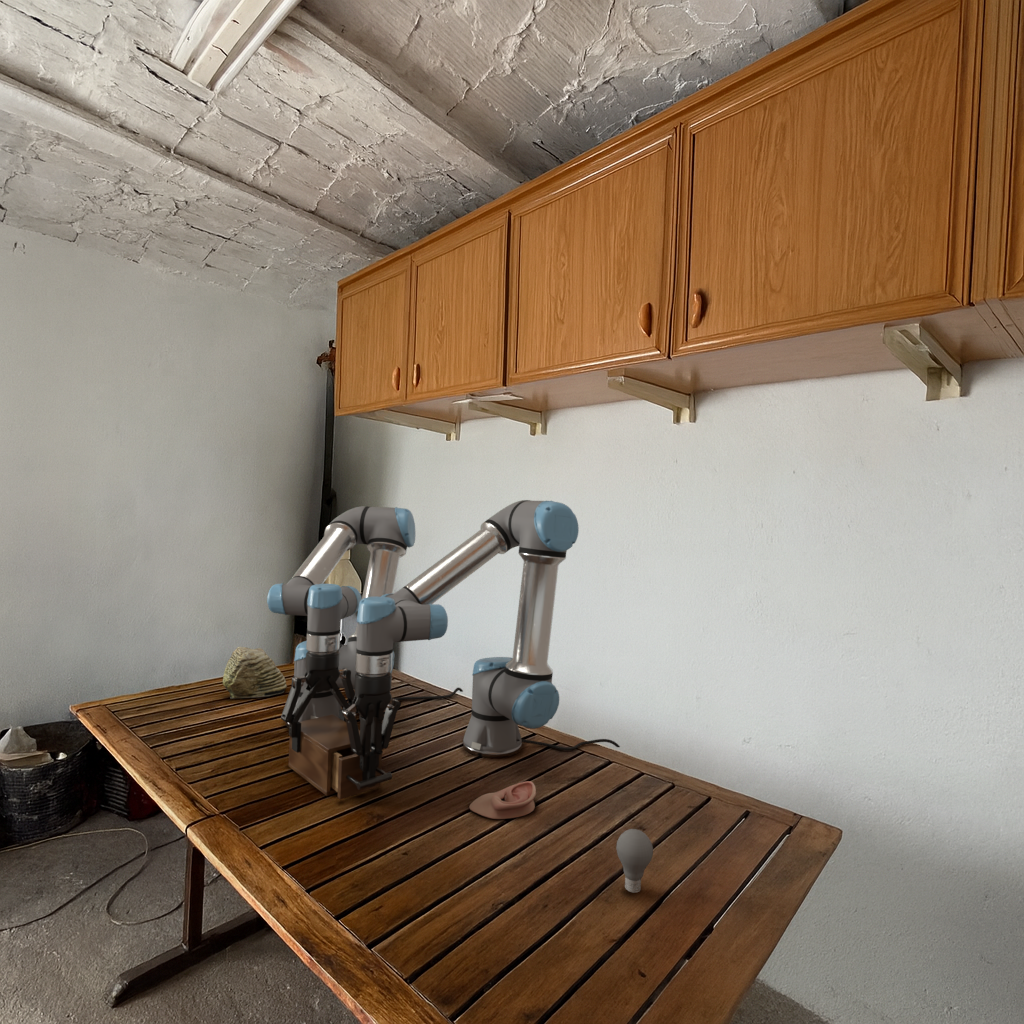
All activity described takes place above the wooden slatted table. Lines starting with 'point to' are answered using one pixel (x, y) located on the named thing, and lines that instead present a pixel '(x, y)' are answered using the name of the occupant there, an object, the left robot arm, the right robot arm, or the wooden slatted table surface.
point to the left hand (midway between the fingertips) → (319, 744)
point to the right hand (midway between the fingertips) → (368, 784)
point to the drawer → (353, 774)
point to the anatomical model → (506, 802)
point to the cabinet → (319, 750)
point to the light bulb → (634, 857)
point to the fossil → (252, 674)
